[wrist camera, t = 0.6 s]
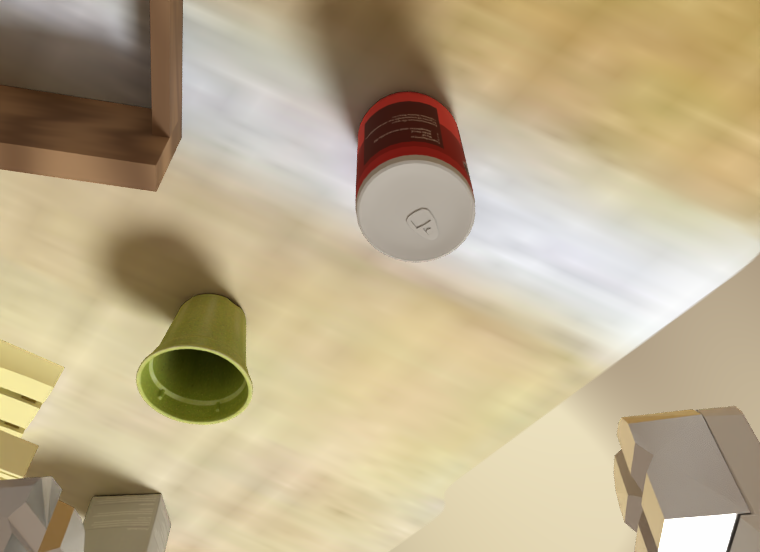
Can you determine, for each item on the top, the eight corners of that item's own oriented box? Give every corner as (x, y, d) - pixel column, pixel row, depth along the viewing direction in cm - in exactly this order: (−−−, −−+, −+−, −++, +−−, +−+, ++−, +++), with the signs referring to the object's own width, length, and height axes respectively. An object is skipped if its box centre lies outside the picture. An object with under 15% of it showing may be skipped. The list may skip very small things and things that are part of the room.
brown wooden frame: (183, -36, 46) (153, 0, 40) (181, 137, 53) (156, 191, 47) (-111, -90, 44) (-192, -60, 37) (-70, 99, 51) (-131, 150, 45)
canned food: (414, 198, 57) (422, 282, 48) (336, 141, 54) (329, 220, 45) (480, 131, 54) (502, 208, 45) (401, 66, 50) (408, 136, 42)
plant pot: (268, 355, 68) (256, 426, 61) (169, 354, 67) (146, 425, 60) (260, 278, 62) (247, 347, 55) (152, 277, 62) (125, 345, 55)
